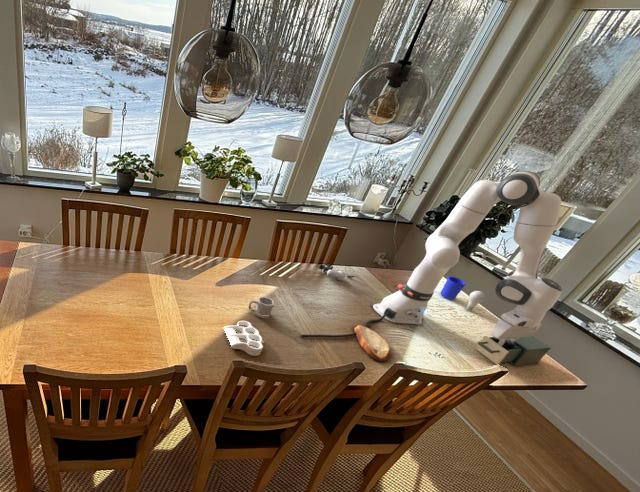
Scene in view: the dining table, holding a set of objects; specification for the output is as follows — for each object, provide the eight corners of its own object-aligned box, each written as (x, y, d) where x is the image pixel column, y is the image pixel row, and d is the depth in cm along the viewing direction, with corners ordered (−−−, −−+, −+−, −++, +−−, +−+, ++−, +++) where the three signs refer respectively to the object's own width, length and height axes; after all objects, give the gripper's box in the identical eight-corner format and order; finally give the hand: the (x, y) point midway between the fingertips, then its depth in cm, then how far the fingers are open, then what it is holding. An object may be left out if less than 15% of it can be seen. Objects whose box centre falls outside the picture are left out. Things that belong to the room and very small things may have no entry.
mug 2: (451, 292, 216) (461, 276, 210) (457, 302, 206) (468, 286, 201) (434, 288, 217) (444, 272, 212) (440, 298, 208) (450, 281, 202)
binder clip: (504, 351, 163) (509, 344, 161) (494, 344, 167) (500, 337, 165) (509, 351, 164) (515, 343, 162) (499, 344, 168) (505, 336, 165)
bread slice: (357, 326, 175) (360, 319, 173) (398, 348, 165) (402, 340, 163) (338, 340, 164) (342, 333, 162) (381, 364, 154) (386, 357, 152)
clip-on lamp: (341, 276, 221) (315, 269, 215) (346, 266, 219) (321, 258, 213) (354, 285, 211) (328, 278, 205) (360, 275, 209) (334, 267, 203)
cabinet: (514, 365, 165) (527, 349, 160) (489, 347, 174) (501, 332, 169) (537, 363, 169) (551, 347, 164) (511, 345, 178) (524, 330, 173)
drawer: (488, 365, 161) (498, 352, 157) (466, 349, 169) (475, 336, 165) (518, 362, 166) (529, 350, 162) (496, 346, 174) (505, 334, 170)
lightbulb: (477, 314, 198) (490, 296, 192) (464, 312, 199) (477, 293, 192) (471, 308, 203) (484, 290, 197) (459, 305, 204) (471, 287, 198)
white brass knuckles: (220, 326, 161) (253, 327, 164) (232, 356, 147) (269, 356, 150) (221, 320, 160) (255, 320, 162) (234, 349, 145) (272, 349, 148)
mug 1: (269, 311, 176) (273, 298, 172) (270, 319, 171) (274, 306, 167) (246, 306, 177) (250, 294, 173) (247, 315, 171) (251, 302, 167)
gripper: (536, 311, 162) (515, 338, 170) (499, 313, 157) (479, 341, 164) (551, 320, 157) (529, 347, 165) (514, 323, 152) (493, 351, 159)
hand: (504, 344), depth 165 cm, fingers closed on binder clip, 3 cm apart
